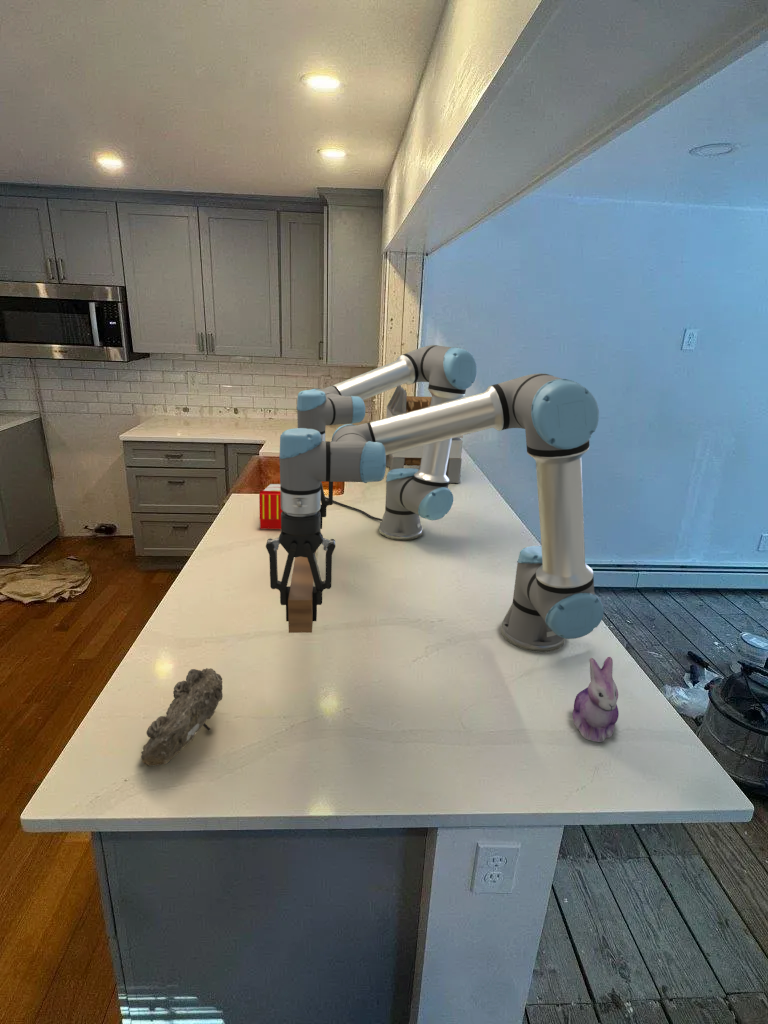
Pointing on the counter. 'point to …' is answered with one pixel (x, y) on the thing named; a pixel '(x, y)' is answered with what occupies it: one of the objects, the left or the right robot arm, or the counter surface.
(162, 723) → the fossil
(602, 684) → the figurine
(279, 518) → the toy
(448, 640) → the counter surface
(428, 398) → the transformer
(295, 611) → the post
